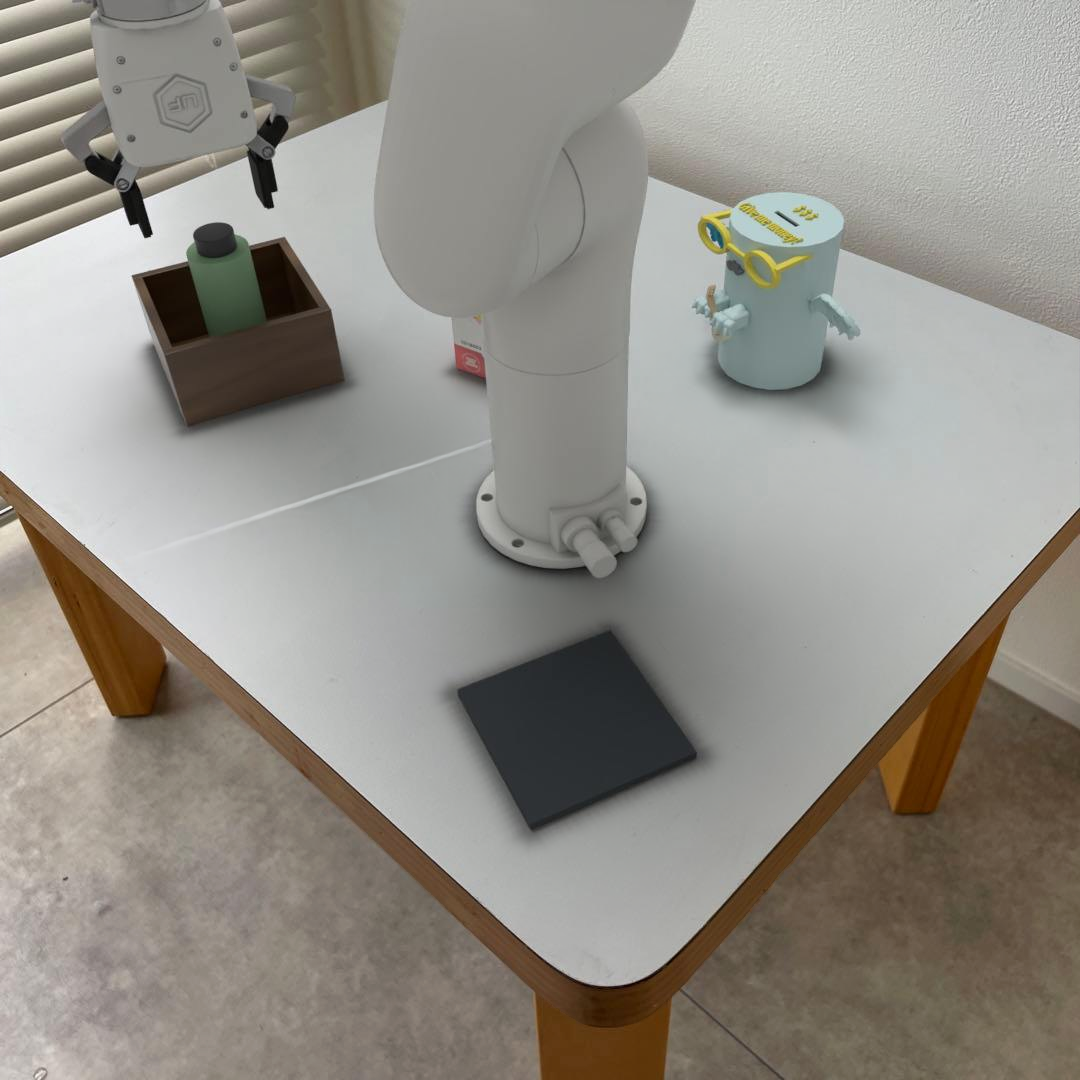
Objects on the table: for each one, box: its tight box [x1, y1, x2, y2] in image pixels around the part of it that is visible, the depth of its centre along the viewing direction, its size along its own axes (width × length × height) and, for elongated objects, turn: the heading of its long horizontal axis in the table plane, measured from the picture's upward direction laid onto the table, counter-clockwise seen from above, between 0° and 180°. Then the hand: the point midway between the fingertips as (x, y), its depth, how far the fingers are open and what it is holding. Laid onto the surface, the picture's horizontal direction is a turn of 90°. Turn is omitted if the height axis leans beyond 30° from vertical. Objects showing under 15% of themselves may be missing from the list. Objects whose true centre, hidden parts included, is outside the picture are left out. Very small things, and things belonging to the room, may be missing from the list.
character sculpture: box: [691, 191, 861, 391], centre depth 92 cm, size 20×12×13 cm, turn 29°
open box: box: [131, 236, 346, 428], centre depth 97 cm, size 14×14×7 cm
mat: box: [456, 629, 698, 830], centre depth 70 cm, size 11×11×1 cm
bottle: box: [185, 221, 267, 337], centre depth 95 cm, size 5×5×12 cm
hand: (206, 215), depth 90 cm, fingers open, 9 cm apart
